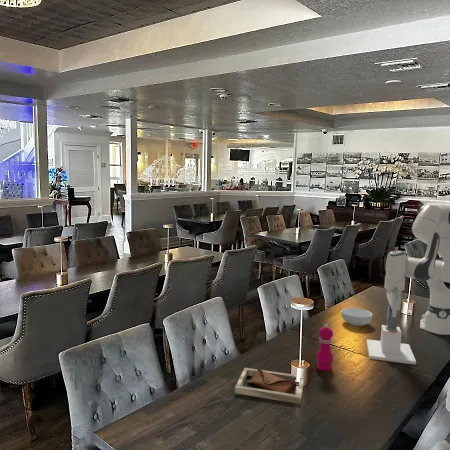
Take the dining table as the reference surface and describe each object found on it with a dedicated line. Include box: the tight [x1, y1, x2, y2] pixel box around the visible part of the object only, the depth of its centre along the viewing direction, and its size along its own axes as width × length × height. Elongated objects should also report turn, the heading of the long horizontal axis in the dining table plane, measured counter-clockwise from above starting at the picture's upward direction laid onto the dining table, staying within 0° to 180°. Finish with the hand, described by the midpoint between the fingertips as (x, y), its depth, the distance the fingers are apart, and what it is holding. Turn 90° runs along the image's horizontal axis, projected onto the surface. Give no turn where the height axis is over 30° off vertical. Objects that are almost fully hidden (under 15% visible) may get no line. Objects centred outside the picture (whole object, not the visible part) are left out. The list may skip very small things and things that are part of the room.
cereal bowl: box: [340, 307, 373, 327], centre depth 237 cm, size 17×17×7 cm
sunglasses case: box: [247, 368, 296, 394], centre depth 164 cm, size 18×7×7 cm, turn 51°
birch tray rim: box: [234, 367, 305, 405], centre depth 164 cm, size 17×25×2 cm
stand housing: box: [365, 324, 417, 365], centre depth 198 cm, size 20×20×12 cm
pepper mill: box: [315, 323, 334, 372], centre depth 181 cm, size 7×7×20 cm
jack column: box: [386, 304, 399, 331], centre depth 197 cm, size 4×4×16 cm
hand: (392, 313), depth 197 cm, fingers open, 8 cm apart
